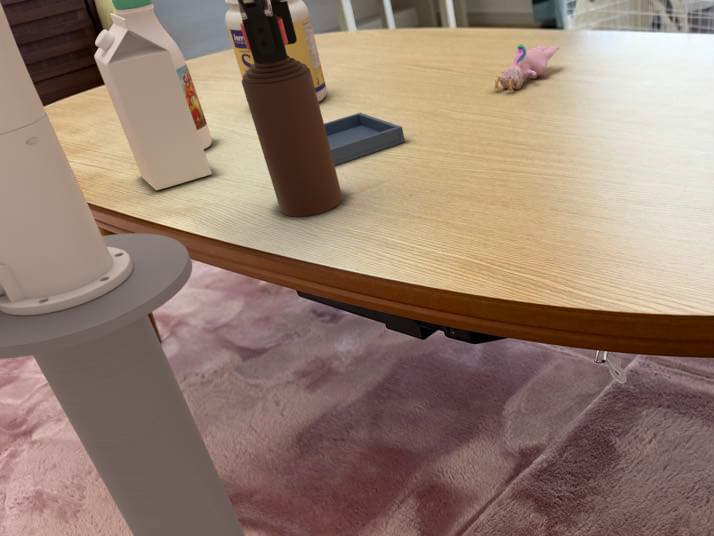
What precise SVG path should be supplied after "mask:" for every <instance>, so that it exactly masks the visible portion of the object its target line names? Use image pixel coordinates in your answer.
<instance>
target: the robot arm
mask: <svg viewBox="0 0 714 536" xmlns="http://www.w3.org/2000/svg"><path fill="white" fill-rule="evenodd" d="M281 1H282V2H281ZM238 4H239V9H240V14H241V17H242V22H243V25H244V29H245V32H246V36H247V39H248V42H249V46H250V49H251V53H252V56H253V60H254V62H255V63H257V64H261V63H268V62H276V61H284V60H286V58H287V52H286V48H285V45H284V41H283V37H282V33H281V30H280V26H279V22H278V18H277V17H281V18H282V22H283V25H284V29H285V33H286V36H287V40H288V44H294V43H296V41H297V37H296V33H295V29H294V25H293V22H292V18H291V14H290V10H289V6H288V2H287V1H285V0H238ZM288 44H286V45H288ZM102 236H103V235H102V233H101V230H100V227H99V226H98V224H97V222H96V220H95V217H94V215H93V213H92V210H91V208H90V206H89V203H88V201H87V200H86V197H85V195H84V192H83V191H82V188H81V186H80V184H79V182H78V179H77V177H76V175H75V173H74V171H73V168H72V166H71V164H70V162H69V159H68V158H67V155H66V153H65V150H64V148H63V146H62V144H61V142H60V140H59V137H58V135H57V133H56V131H55V129H54V126H53V124H52V122H51V119H50V117H49V115H48V113H47V111H46V109H45V107H44V105H43V103H42V100H41V98H40V96H39V93H38V91H37V89H36V87H35V85H34V82H33V80H32V77H31V76H30V73H29V71H28V69H27V66H26V63H25V62H24V59H23V57H22V54H21V52H20V50H19V47H18V45H17V43H16V40H15V37H14V35H13V32H12V29H11V26H10V23H9V20H8V18H7V16H6V13H5V11H4V7H3V5H2V3H1V2H0V311H2V312H4V313H7V314H11V315H20V316H30V315H41V314H48V313H53V312H57V311H62V310H66V309H69V308H72V307H76V306H79V305H81V304H84V303H87V302H90V301H92V300H94V299H96V298H98V297H101V296H103V295H104V294H106V293H108V292H110V291H112V290H113V289H115V288H116V287H118V286H119V285H121V284H122V283H123V282H124V281H125V280H126V279H127V278H128V277H129V275H130V274H131V272H132V269H133V263H132V261H131V259H130V257H129V254H128V253H126V252H125V251H124V250H121V249H118V248H113V247H107V246H106V244H105V241H104V239H103V237H102Z"/></svg>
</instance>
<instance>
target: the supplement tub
mask: <svg viewBox="0 0 714 536" xmlns="http://www.w3.org/2000/svg"><path fill="white" fill-rule="evenodd" d="M285 1H287V2H288V6H289V10H290V14H291V18H292V22H293V25H294V29H295V33H296V37H297V41H296V43H294V44H288V45H285V48H286V52H287V55H288V56H289V57H290V58H294V59H295V60H296V61H300V62H301V63H303V64H306V65H307V67H308V68H309V69H310V71H311V75H312V79H313V83H314V87H315V91H316V95H317V99H318V102H319V103H320V102H321V101H322V100H323V99H324V98H326V95H327V84H326V80H325V76H324V71H323V68H322V62H321V59H320V55H319V50H318V47H317V46H318V45H317V43H316V38H315V33H314V29H313V25H312V22H311V21H312V20H311V17H310V12H309V9H308V6H307V5H306V3H305V2H304V1H303V0H285ZM224 2H225V4H226V5H228V6H229V8H228V9H227V11H226V13H225V16H224V20H225V25H226V28H227V32H228V35H229V39H230V43H231V45H232V48H233V52H234V56H235V59H236V62H237V65H238V69H239V73H240V76H241V80H242V79H243V75H244V74H245V73H246V71H247V70H248V69H250V66H251V65H253V64H254V60H253V56H252V53H251V51H249V50H248V49H247V46H246V43H245V40H244V36H243V33H242V29H241V26H240V24H241V23H243V22H242V17H241V14H240V9H239V4H238V0H224ZM281 2H282V1H281Z"/></svg>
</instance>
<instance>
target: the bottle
mask: <svg viewBox="0 0 714 536" xmlns="http://www.w3.org/2000/svg"><path fill="white" fill-rule="evenodd" d="M241 85H242V88H243V91H244V95H245V98H246V101H247V104H248V108H249V111H250V114H251V118H252V121H253V124H254V125H253V126H254V128H255V131H256V134H257V137H258V140H259V144H260V147H261V151H262V154H263V157H264V160H265V161H264V162H265V164H266V167H267V171H268V175H269V177H270V180H271V184H272V187H273V190H274V194H275V197H276V201H277V204H278V207H279V210H280V212H281V213H282V214H283V215H285V216H289V217H310V216H315V215H320V214H322V213H325V212H328V211H331V210H333V209H335V208H336V207H337V206H339V205H340V204H341V203H342V202H343V194H342V190H341V185H340V183H339V178H338V174H337V170H336V165H335V166H334V162H333V158H332V154H331V150H330V146H329V142H328V138H327V134H326V130H325V126H324V123H325V122H324V118H323V114H322V111H321V107H320V102H318V99H317V95H316V91H315V87H314V83H313V79H312V75H311V71H310V69H309V68H308V67H307V65H306V64H303V63H301V62H300V61H296V60H295V59H294V58H290V57H289V56H288V55H287V58H286V60H284V61H276V62H268V63H261V64H257V63H255V62H254V64H253V65H251V66H250V69H248V70H247V71H246V73H245V74H244V75H243V79H242V78H241Z"/></svg>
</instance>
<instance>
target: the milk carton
mask: <svg viewBox="0 0 714 536" xmlns="http://www.w3.org/2000/svg"><path fill="white" fill-rule="evenodd" d="M109 16H110V18H111V21H112V25H111V27H110V28H109V29H108V30H107V29H103V30H101V32H100V33H99V34H98V36H97V37H96V40H95V42H94V43H95V46H96V47H98V48H97V50H96V52H95V54H94V56H93V57H94V61H95V62H96V65H97V68H98V71H99V73H100V75H101V78H102V80H103V84H104V85H105V88H106V91H107V93H108V95H109V98H110V100H111V103H112V105H113V108H114V111H115V114H116V116H117V118H118V120H119V123H120V125H121V128H122V131H123V133H124V135H125V138H126V140H127V143H128V145H129V148H130V150H131V153H132V156H133V158H134V161H135V163H136V165H137V168H138V170H139V173H140V175H141V177H142V179H143V180H144V181H145V182H146V183H147V184H148V185H149V186H151V188H153V189H154V190H155V191H159V190H163V189H166V188H170V187H174V186H177V185H181V184H184V183H187V182H191V181H194V180H197V179H201V178H203V177H207V176H210V175H213V173H212V170H211V167H210V164H209V161H208V158H207V156H206V152H205V149H203V146H202V144H201V141H200V138H199V135H198V132H197V129H196V126H195V123H194V121H193V118H192V115H191V112H190V109H189V106H188V103H187V100H186V97H185V95H184V92H183V89H182V86H181V83H180V80H179V77H178V74H177V71H176V69H175V66H174V63H173V60H172V57H171V54H170V51H169V50H167V49H165V48H163V47H161V46H160V45H158V44H156V43H154V42H152V41H150V40H148V39H146V38H144V37H142V36H141V35H139V34H137V33H135V32H133V31H131V30H129V27H128V25H127V22H126V19H124V18H122V17H120V16H119V15H118V14H115V13H112V12H110V13H109Z"/></svg>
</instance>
